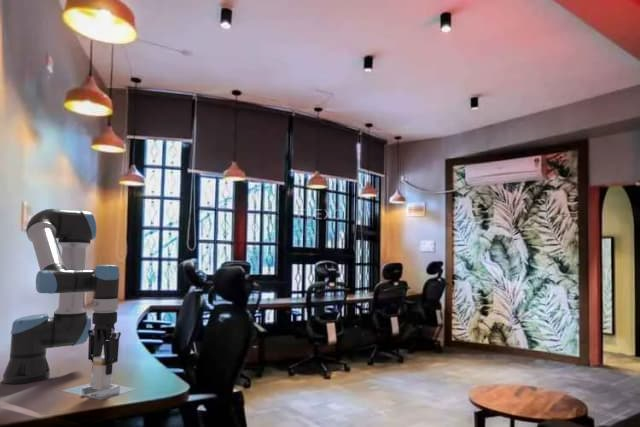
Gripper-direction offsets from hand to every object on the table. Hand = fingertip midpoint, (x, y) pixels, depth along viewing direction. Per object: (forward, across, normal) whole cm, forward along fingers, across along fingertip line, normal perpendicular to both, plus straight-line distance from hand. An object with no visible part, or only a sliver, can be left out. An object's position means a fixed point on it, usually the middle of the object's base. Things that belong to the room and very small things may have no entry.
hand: (101, 383), depth 154 cm
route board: (+5, -5, +3) cm, 7 cm away
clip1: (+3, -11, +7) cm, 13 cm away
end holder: (+3, 0, 0) cm, 3 cm away
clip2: (+3, -5, +6) cm, 9 cm away
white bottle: (+1, 0, 0) cm, 1 cm away
